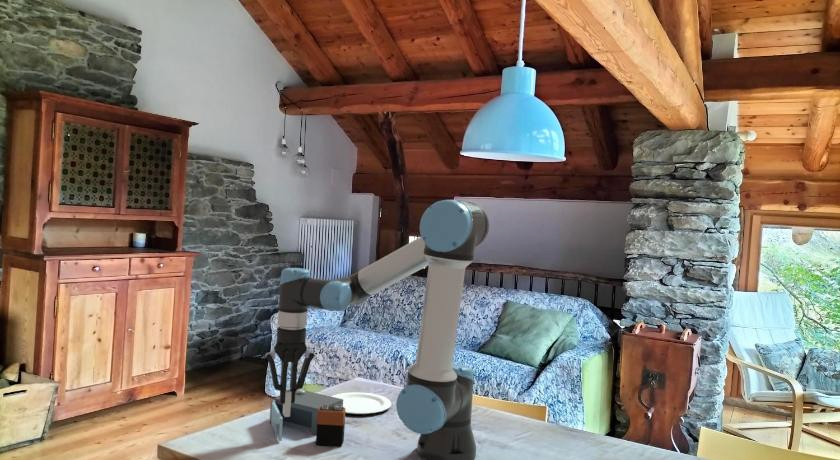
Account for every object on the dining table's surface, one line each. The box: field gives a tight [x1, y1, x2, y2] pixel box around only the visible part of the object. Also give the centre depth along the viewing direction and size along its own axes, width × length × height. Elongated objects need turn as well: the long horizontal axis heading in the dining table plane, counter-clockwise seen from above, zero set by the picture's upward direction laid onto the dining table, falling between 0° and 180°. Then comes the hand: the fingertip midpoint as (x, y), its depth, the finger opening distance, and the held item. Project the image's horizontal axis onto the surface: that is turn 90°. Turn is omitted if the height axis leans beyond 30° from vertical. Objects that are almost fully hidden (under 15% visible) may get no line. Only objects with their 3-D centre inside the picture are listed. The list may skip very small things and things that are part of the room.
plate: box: [331, 391, 392, 416], centre depth 187 cm, size 21×21×2 cm
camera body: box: [273, 389, 343, 435], centre depth 169 cm, size 18×11×8 cm, turn 63°
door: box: [269, 399, 283, 442], centre depth 160 cm, size 15×2×6 cm, turn 23°
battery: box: [315, 405, 346, 448], centre depth 155 cm, size 4×7×10 cm, turn 90°
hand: (286, 414), depth 158 cm, fingers closed
